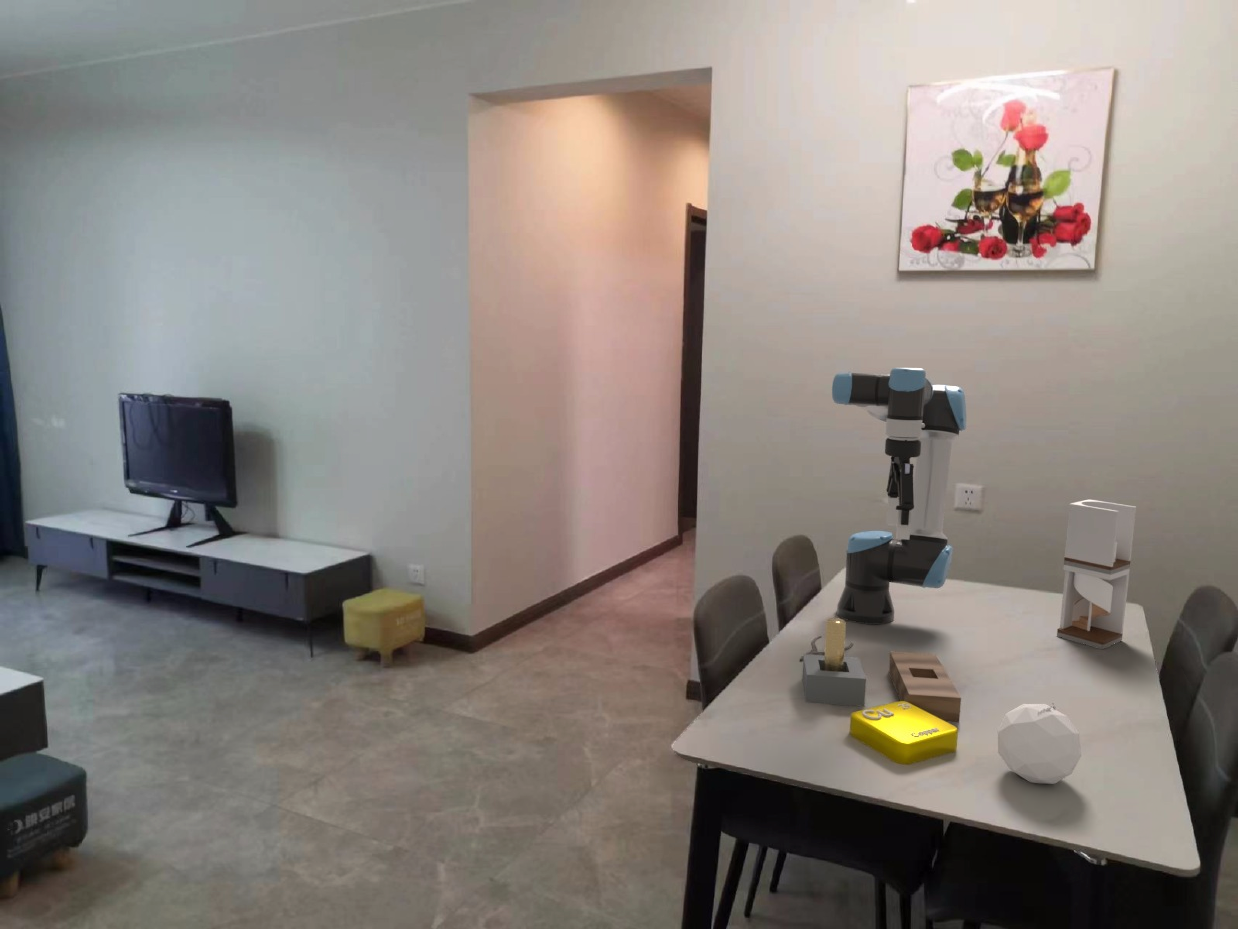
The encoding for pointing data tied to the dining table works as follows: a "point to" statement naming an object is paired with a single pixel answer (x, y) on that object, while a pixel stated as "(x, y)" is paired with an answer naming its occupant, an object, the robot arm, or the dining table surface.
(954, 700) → the beam
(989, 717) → the dining table surface
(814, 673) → the seat block
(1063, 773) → the geodesic sphere
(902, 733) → the element tile
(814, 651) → the pliers
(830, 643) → the golden rounded rod
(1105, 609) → the spiral staircase model
